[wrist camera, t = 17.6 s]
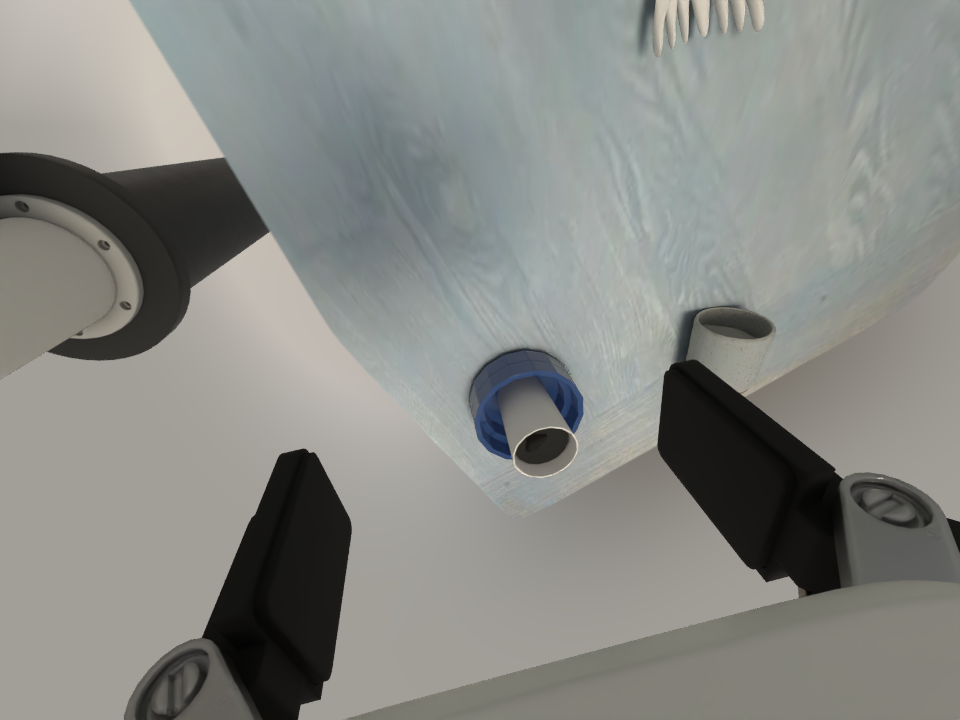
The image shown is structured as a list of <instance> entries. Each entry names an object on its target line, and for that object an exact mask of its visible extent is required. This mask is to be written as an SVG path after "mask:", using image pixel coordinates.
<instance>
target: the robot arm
mask: <svg viewBox="0 0 960 720" xmlns="http://www.w3.org/2000/svg"><path fill="white" fill-rule="evenodd" d="M143 295H144V289H143V280H142V277H141V274H140V271H139V268H138V266H137V264H136V263H135V261H134V259H133V257H132V255H131V254H130V252H129V251H128V250H127V249H126V247H125V246H124V245H123V243H122V242H121V241H120V240H119V239H118V238H117V237H116V236H115V235H114V234H113V233H112V232H111V231H110V230H109V229H107V228H106V227H105V226H103V225H102V224H101V223H99V222H98V221H97V220H95V219H94V218H92V217H91V216H89V215H87V214H85V213H84V212H82V211H80V210H78V209H77V208H74V207H72V206H69V205H67V204H65V203H62V202H60V201H57V200H53V199H49V198H45V197H42V196H35V195H26V194H16V195H4V196H0V379H2V378H4V377H5V376H7V375H9V374H10V373H12V372H14V371H15V370H17V369H19V368H20V367H22V366H23V365H25V364H27V363H28V362H30V361H32V360H33V359H35V358H37V357H38V356H40V355H42V354H43V353H45V352H47V351H48V350H50V349H52V348H53V347H55V346H57V345H58V344H60V343H62V342H63V341H65V340H67V339H68V338H76V339H89V338H99V337H102V336H106V335H109V334H112V333H114V332H116V331H118V330H120V329H121V328H123V327H124V326H126V325H127V324H128V323H130V322H131V321H132V320H133V319H134V317H135V316H136V315H137V314H138V312H139V310H140V308H141V305H142V302H143ZM658 450H659V453H660V455H661V457H662V458H663V460H664V461H665V462H666V463H667V465H668V466H669V467H670V469H671V470H672V471H673V472H674V474H675V475H676V476H677V478H678V479H679V480H680V481H681V483H682V484H683V485H684V487H685V488H686V489H687V490H688V492H689V493H690V494H691V495H692V497H693V498H694V499H695V500H696V502H697V503H698V504H699V506H700V507H701V508H702V510H703V511H704V512H705V513H706V515H707V516H708V517H709V519H710V520H711V521H712V522H713V524H714V525H715V526H716V527H717V529H718V530H719V531H720V533H721V534H722V535H723V536H724V538H725V539H726V540H727V542H728V543H729V544H730V545H731V547H732V548H733V549H734V551H735V552H736V553H737V554H738V556H739V557H740V558H741V560H742V561H743V562H744V563H745V564H746V565H747V566H748V567H749V568H751V569H756V570H757V571H758V572H759V574H760V575H761V576H762V577H763V579H764V580H765V581H766V582H769V581H773V580H776V579H780V578H784V577H788V576H789V577H790V578H791V579H792V580H793V581H794V583H795V584H796V585H797V586H798V593H799V598H798V599H794V600H790V601H785V602H781V603H777V604H773V605H769V606H764V607H761V608H757V609H753V610H749V611H745V612H741V613H738V614H734V615H730V616H726V617H722V618H718V619H714V620H711V621H707V622H703V623H699V624H696V625H691V626H688V627H684V628H680V629H676V630H672V631H668V632H665V633H661V634H657V635H653V636H650V637H645V638H642V639H638V640H634V641H630V642H627V643H623V644H619V645H615V646H612V647H608V648H604V649H600V650H597V651H593V652H589V653H585V654H581V655H578V656H574V657H570V658H566V659H563V660H559V661H556V662H551V663H548V664H544V665H540V666H536V667H533V668H529V669H525V670H522V671H518V672H514V673H510V674H507V675H503V676H499V677H496V678H492V679H488V680H485V681H481V682H477V683H473V684H470V685H466V686H462V687H459V688H455V689H451V690H448V691H444V692H441V693H437V694H433V695H430V696H426V697H422V698H419V699H415V700H412V701H408V702H404V703H400V704H397V705H393V706H389V707H385V708H382V709H378V710H375V711H372V712H368V713H365V714H361V715H358V716H355V717H351V718H348V719H344V720H960V522H958V521H955V520H952V519H948V518H946V516H945V515H944V513H943V511H942V510H941V508H940V507H939V505H938V504H937V503H936V502H935V501H934V500H932V499H931V498H930V497H929V496H928V495H927V494H925V493H924V492H922V491H920V490H919V489H917V488H916V487H914V486H912V485H910V484H908V483H905V482H903V481H901V480H899V479H896V478H892V477H888V476H885V475H882V474H875V473H854V474H851V475H849V476H846V477H845V478H844V479H842V478H841V477H840V476H839V475H837V474H836V473H835V472H834V471H835V468H834V467H833V466H831V465H830V464H829V463H827V462H826V461H825V460H824V459H822V458H821V457H820V456H819V455H817V454H816V453H815V452H814V451H812V450H811V449H810V448H808V447H807V446H806V445H805V444H803V443H802V442H801V441H800V440H798V439H797V438H796V437H794V436H793V435H792V434H791V433H789V432H788V431H787V430H785V429H784V428H783V427H782V426H780V425H779V424H778V423H777V422H775V421H774V420H773V419H772V418H770V417H769V416H768V415H766V414H765V413H764V412H763V411H761V410H760V409H759V408H758V407H756V406H755V405H754V404H753V403H751V402H750V401H749V400H747V399H746V398H745V397H744V396H742V395H741V394H740V393H739V392H737V391H736V390H735V389H733V388H732V387H731V386H730V385H728V384H727V383H726V382H725V381H723V380H722V379H721V378H719V377H718V376H717V375H716V374H714V373H713V372H712V371H711V370H709V369H708V368H707V367H705V366H704V365H703V364H702V363H700V362H699V361H697V360H695V359H692V360H688V361H683V362H679V363H674V364H672V365H671V366H670V369H669V370H668V371H666V372H665V375H664V383H663V393H662V403H661V413H660V424H659V434H658ZM351 531H352V527H351V521H350V518H349V516H348V514H347V512H346V510H345V509H344V506H343V505H342V503H341V501H340V499H339V497H338V495H337V493H336V491H335V489H334V487H333V485H332V484H331V482H330V480H329V478H328V476H327V474H326V472H325V470H324V468H323V466H322V464H321V462H320V460H319V458H318V457H317V455H316V454H315V453H314V452H312V453H309V452H308V451H307V450H306V449H300V450H295V451H291V452H287V453H282V454H281V455H280V456H279V457H278V459H277V462H276V464H275V467H274V469H273V472H272V474H271V477H270V479H269V482H268V484H267V487H266V489H265V492H264V494H263V497H262V499H261V502H260V504H259V507H258V509H257V512H256V514H255V515H254V516H253V517H252V518H251V520H250V522H249V524H248V526H247V529H246V531H245V534H244V536H243V538H242V541H241V543H240V546H239V548H238V551H237V553H236V556H235V558H234V560H233V563H232V565H231V568H230V570H229V573H228V575H227V578H226V580H225V583H224V585H223V587H222V590H221V592H220V595H219V597H218V600H217V602H216V604H215V607H214V610H213V612H212V614H211V617H210V619H209V622H208V624H207V626H206V629H205V631H204V634H203V636H202V638H199V639H193V640H190V641H187V642H185V643H183V644H181V645H179V646H176V647H175V648H174V649H172V650H171V651H170V652H168V653H167V654H165V655H164V656H163V657H162V658H160V660H159V661H157V663H155V665H153V666H152V667H151V668H150V669H149V671H148V672H147V673H146V674H145V676H144V677H143V678H142V680H141V681H140V682H139V683H138V685H137V687H136V688H135V690H134V692H133V694H132V696H131V698H130V699H129V702H128V705H127V708H126V711H125V714H124V720H298V715H299V710H300V705H301V704H305V703H309V702H313V701H317V700H320V699H321V695H322V688H323V682H324V681H327V680H329V678H330V676H331V672H332V667H333V660H334V653H335V646H336V639H337V632H338V625H339V618H340V611H341V604H342V596H343V590H344V582H345V576H346V569H347V561H348V555H349V547H350V540H351V533H352V532H351Z"/></svg>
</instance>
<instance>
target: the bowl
mask: <svg viewBox="0 0 960 720" xmlns="http://www.w3.org/2000/svg"><path fill="white" fill-rule="evenodd" d="M529 376H534V377H535V378H537V379H539V380H540V382H541V383H542V385H543V386H544V388H545V390H546V391H547V393H548V394H549V396H550V398H551V399H552V401H553V402H554V404H555V406H556V407H557V409H558V410H559V412H560V414H561V415H562V417H563V418H564V420H565V422H566V423H567V425H568V426H569V428H570V430H571V431H572V433H573V434H574V433H575V432H576V430H577V428H578V426H579V423H580V421H581V419H582V417H583V397H582V395H581V393H580V392H579V390H578V388H577V387H576V385H575V383H574V382H573V380H572V379H571V377H570V376H569V374H568V373H567V371H566V370H565V368H564V367H563V365H562V364H561V363H560V362H559V361H557V360H556V359H554V358H553V357H551V356H549V355H548V354H546V353H542V352H534V351H527V350H524V351H520V352H515V353H511V354H506V355H503V356H502V357H500V358H498V359H497V360H495V361H493V362H492V363H490V364H489V365H487V366H486V367H485V368H484V369H483V370H482V372H481V373H480V374H479V375H478V377H477V378H476V379H475V381H474V382H473V386H472V390H471V393H470V397H469V402H470V406H471V411H472V416H473V420H474V424H475V429H476V433H477V437H478V440H479V441H480V442H481V443H482V444H483V445H484V446H485V448H486V449H487V450H488V451H489V452H491V453H493V454H495V455H498V456H500V457H502V458H505V459H512V455H511V452H510V448H509V444H508V440H507V436H506V432H505V428H504V424H503V420H502V416H501V412H500V408H499V404H498V399H497V395H498V392H499V389H500V388H502V387H504V386H505V385H507V384H508V383H510V382H512V381H513V380H516V379H520V378H524V377H529Z"/></svg>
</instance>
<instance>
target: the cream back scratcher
mask: <svg viewBox="0 0 960 720" xmlns="http://www.w3.org/2000/svg"><path fill="white" fill-rule="evenodd" d="M746 2H747V5H748V8H749V12H750V16H751V21H752V25H753V28H754V30H755V31H756V32H758V31H760V30H761V28H762V26H763V23H764V4H763V1H762V0H746ZM691 3H692V7H693V11H694V15H695V19H696V22H697V26H698V29H699V32H700V34H701V35H702V36H703V37H704V38H705V36H706V35H707V32H708V26H709V7H710V0H691ZM714 3H715V7H716V12H717V16H718V20H719V24H720V27H721V30H722V32H723V34H724V35H725V34H726V32H727V27H728V0H714ZM730 3H731V7H732V11H733V15H734V19H735V24H736V27H737V29H738V31H739V32H741V31H742V29H743V25H744V15H745V0H730ZM676 11H677V13H678V19H679V25H680V30H681V35H682V39H683V42H684V43H685V44H687V41H688V33H689V0H656V4H655V13H654V26H653V48H654V53H655V55H656V56H657V57H660V55H661V52H662V45H663V32H664V20H665V22H666V28H667V34H668V39H669V43H670V47H671V48H672V49H673V48H674V46H675V39H676Z"/></svg>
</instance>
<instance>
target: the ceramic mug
mask: <svg viewBox="0 0 960 720" xmlns="http://www.w3.org/2000/svg"><path fill="white" fill-rule="evenodd" d="M775 332H776V328H775V326H774V324H773V323H772V322H771V321H770V320H768V319H767V318H766V317H764V316H761V315H759V314H757V313H754V312H751V311H747V310H743V309H738V308H730V307H718V308H709V309H705V310H703V311H700V312H699V313H698V314H697V315H696V317H695V319H694V324H693V329H692V333H691V338H690V343H689V349H688V353H687V357H686V361H688V360H692V359H695V360H697V361H699V362H700V363H702V364H703V365H704V366H705V367H707V368H708V369H709V370H711V371H712V372H713V373H714V374H716V375H717V376H718V377H719V378H721V379H722V380H723V381H725V382H726V383H727V384H728V385H730V386H731V387H732V388H733V389H735V390H736V391H737V392H739V393H740V394H741V393H744V392H746V391H747V390H748V389H749V388H750V386H751V385H752V384H753V382H754V381H755V379H756V377H757V375H758V373H759V370H760V367H761V365H762V362H763V360H764V358H765V356H766V354H767V352H768V349H769V347H770V345H771V343H772V341H773V338H774V336H775Z"/></svg>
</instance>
